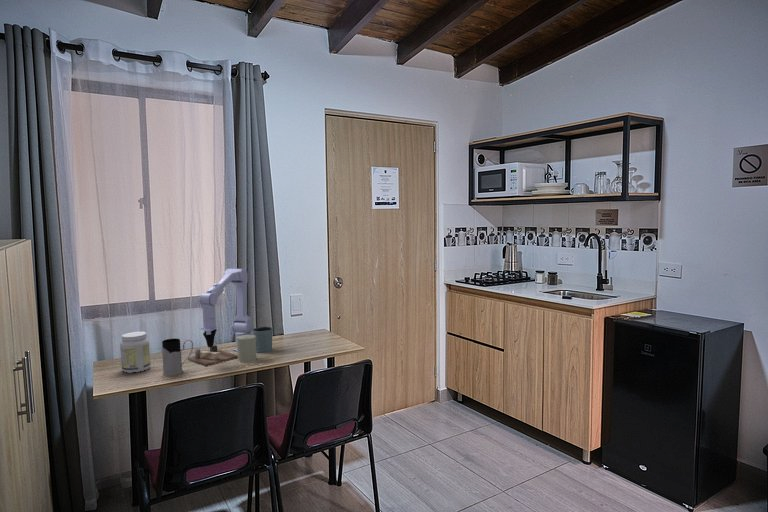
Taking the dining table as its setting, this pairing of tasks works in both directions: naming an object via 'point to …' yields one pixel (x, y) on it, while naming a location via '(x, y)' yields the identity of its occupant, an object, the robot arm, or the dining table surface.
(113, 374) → the dining table surface
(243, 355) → the can
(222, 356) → the frame board
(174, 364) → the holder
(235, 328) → the robot arm
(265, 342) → the teal cylindrical container
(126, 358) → the supplement tub
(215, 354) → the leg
